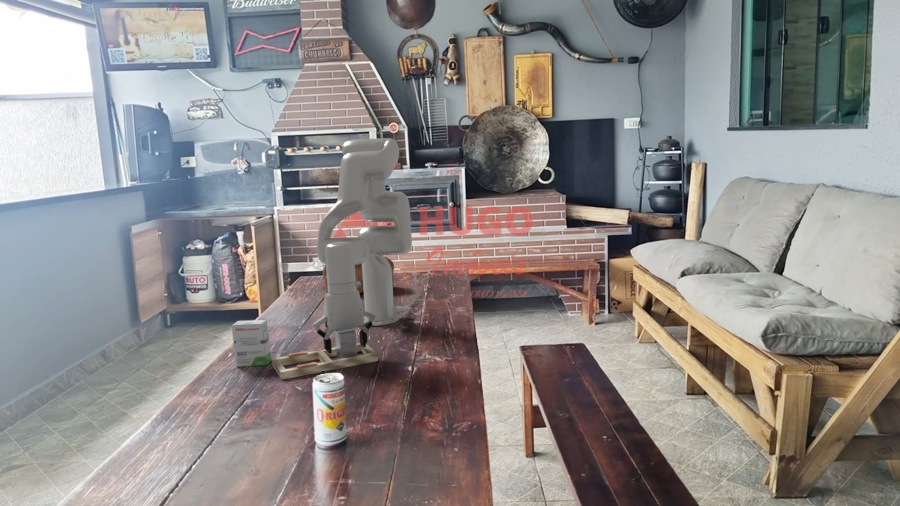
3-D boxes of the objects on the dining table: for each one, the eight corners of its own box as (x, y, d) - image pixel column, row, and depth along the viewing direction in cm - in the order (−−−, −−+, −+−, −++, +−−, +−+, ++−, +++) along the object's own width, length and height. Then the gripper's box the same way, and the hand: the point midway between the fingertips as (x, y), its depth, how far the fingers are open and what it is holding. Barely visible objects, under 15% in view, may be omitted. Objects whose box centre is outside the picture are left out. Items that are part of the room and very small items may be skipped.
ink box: (272, 359, 179) (268, 318, 177) (266, 365, 175) (262, 323, 172) (241, 360, 180) (237, 319, 178) (235, 367, 175) (230, 325, 173)
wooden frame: (364, 348, 185) (363, 340, 185) (378, 360, 175) (377, 352, 174) (272, 365, 174) (271, 356, 174) (281, 379, 164) (280, 370, 163)
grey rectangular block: (352, 355, 180) (350, 327, 179) (357, 360, 176) (355, 332, 175) (336, 358, 178) (334, 330, 177) (341, 363, 174) (339, 334, 173)
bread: (396, 292, 253) (394, 256, 251) (323, 297, 249) (321, 261, 247) (394, 285, 265) (392, 251, 262) (325, 290, 261) (322, 256, 258)
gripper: (368, 281, 181) (371, 340, 184) (306, 289, 173) (311, 350, 176) (377, 286, 174) (380, 347, 177) (313, 295, 167) (318, 358, 170)
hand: (346, 348), depth 177 cm, fingers open, 9 cm apart
